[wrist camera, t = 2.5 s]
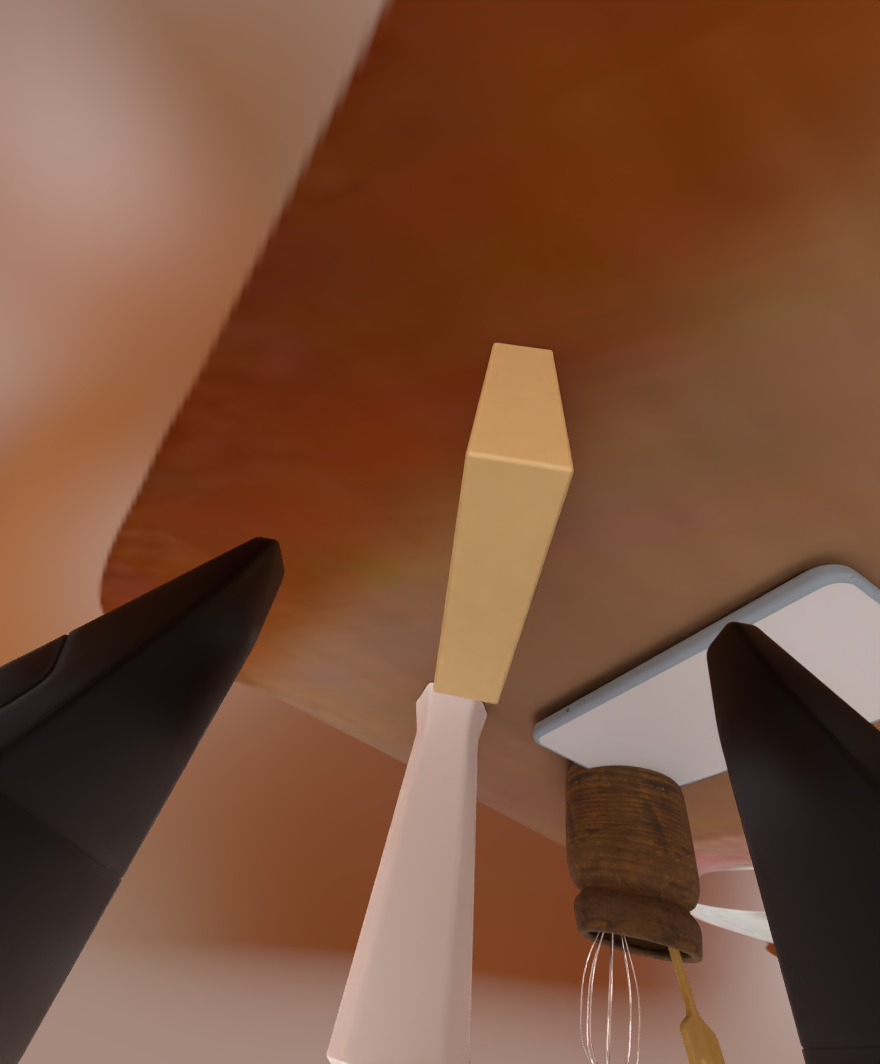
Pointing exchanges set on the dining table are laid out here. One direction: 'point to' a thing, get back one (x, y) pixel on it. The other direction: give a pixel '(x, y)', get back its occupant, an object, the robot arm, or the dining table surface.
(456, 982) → the perfume bottle
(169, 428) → the dining table surface
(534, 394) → the toast
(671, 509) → the dining table surface
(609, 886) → the utensil holder
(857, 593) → the smartphone
